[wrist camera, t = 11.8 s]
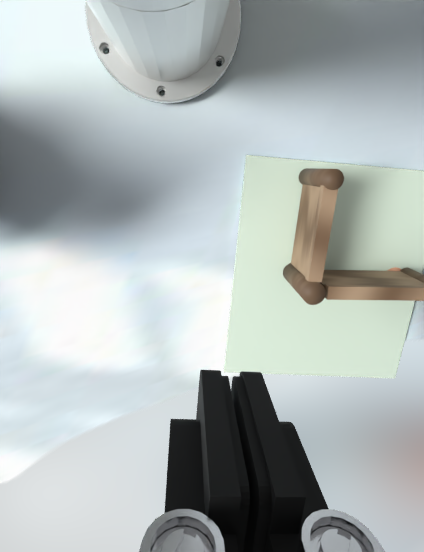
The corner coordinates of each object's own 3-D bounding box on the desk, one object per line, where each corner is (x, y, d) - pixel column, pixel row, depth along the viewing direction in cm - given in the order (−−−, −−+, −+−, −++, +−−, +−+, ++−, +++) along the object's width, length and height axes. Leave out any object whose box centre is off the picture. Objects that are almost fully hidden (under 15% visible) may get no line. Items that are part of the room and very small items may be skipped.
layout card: (246, 155, 34) (246, 154, 34) (445, 173, 36) (448, 173, 35) (223, 370, 40) (224, 372, 40) (393, 376, 42) (395, 378, 42)
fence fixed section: (297, 167, 34) (323, 167, 28) (318, 169, 34) (348, 169, 28) (281, 280, 37) (301, 304, 31) (300, 281, 38) (323, 305, 31)
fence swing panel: (304, 281, 37) (332, 309, 30) (306, 264, 37) (335, 288, 30) (411, 283, 38) (463, 310, 31) (415, 266, 38) (468, 290, 30)
